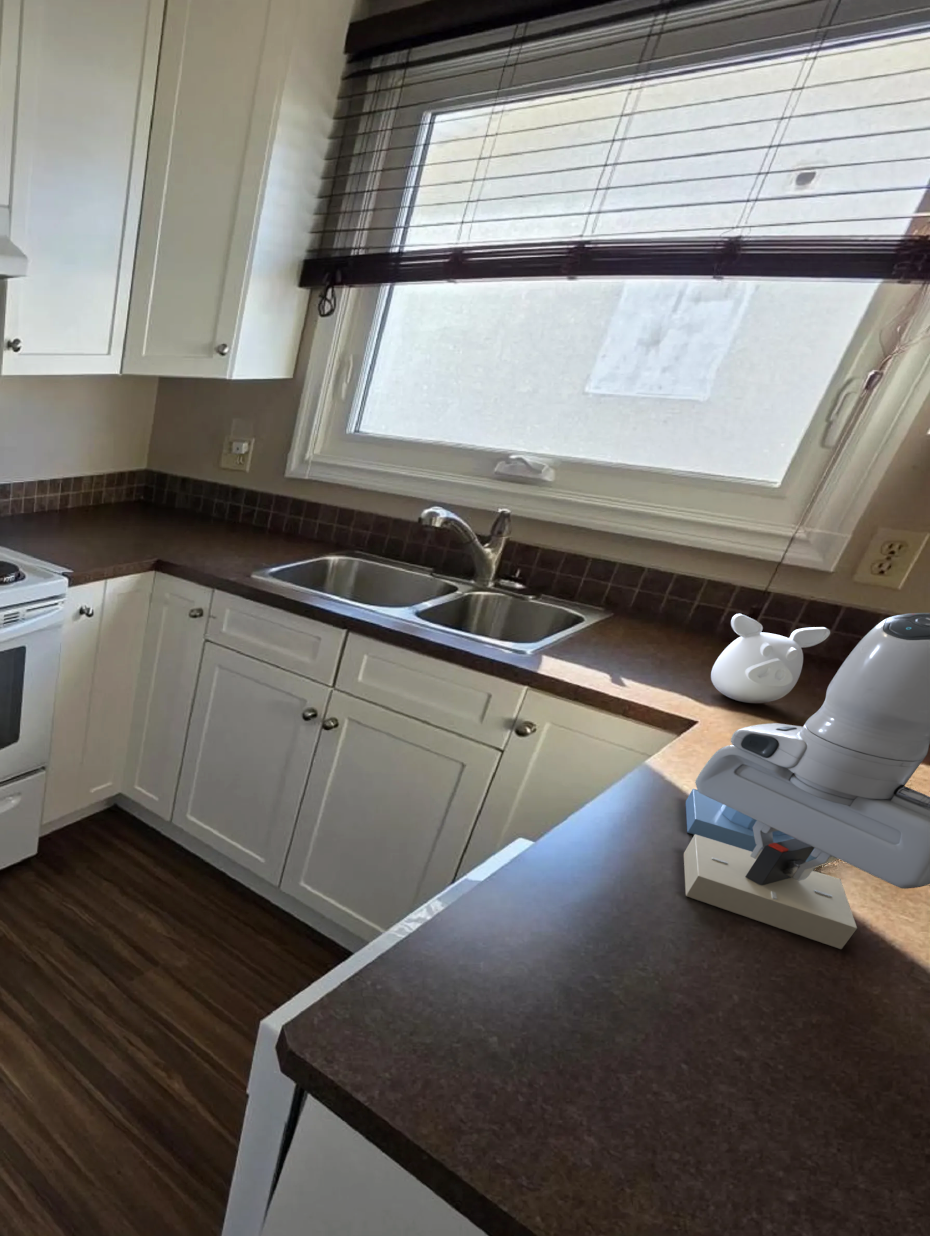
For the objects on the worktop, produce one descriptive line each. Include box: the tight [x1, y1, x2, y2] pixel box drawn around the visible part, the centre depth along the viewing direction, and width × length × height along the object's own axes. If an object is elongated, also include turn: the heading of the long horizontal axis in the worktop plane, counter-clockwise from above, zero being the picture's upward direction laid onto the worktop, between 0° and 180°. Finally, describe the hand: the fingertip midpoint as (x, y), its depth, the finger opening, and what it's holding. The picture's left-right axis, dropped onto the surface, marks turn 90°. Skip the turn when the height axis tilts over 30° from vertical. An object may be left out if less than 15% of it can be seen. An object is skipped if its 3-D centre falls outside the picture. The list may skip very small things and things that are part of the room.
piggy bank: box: [710, 613, 831, 704], centre depth 140 cm, size 12×12×15 cm
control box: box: [683, 834, 858, 950], centre depth 92 cm, size 13×11×3 cm
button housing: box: [685, 788, 817, 871], centre depth 104 cm, size 12×10×4 cm
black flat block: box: [745, 838, 814, 885], centre depth 90 cm, size 6×2×5 cm, turn 108°
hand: (777, 867), depth 91 cm, fingers closed, pressing on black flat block
